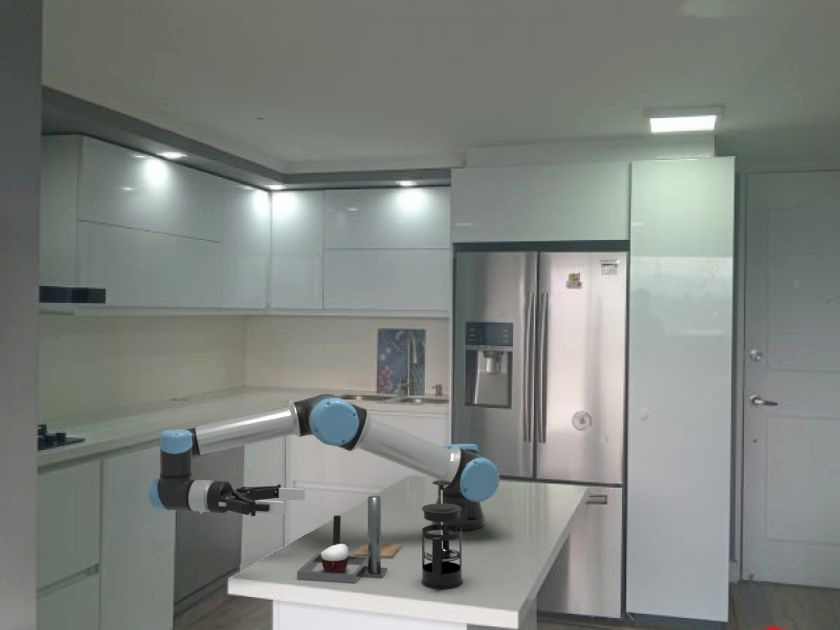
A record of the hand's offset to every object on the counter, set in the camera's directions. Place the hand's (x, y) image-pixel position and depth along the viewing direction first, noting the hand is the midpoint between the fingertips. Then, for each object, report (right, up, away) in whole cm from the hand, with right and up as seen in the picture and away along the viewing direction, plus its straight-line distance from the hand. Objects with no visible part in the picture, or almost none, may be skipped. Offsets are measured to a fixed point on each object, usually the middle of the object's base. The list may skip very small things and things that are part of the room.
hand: (294, 501), depth 189 cm
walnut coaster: (+19, -16, +14) cm, 29 cm away
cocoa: (+10, -16, -2) cm, 19 cm away
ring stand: (+12, -16, -2) cm, 21 cm away
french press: (+35, -16, -10) cm, 40 cm away
